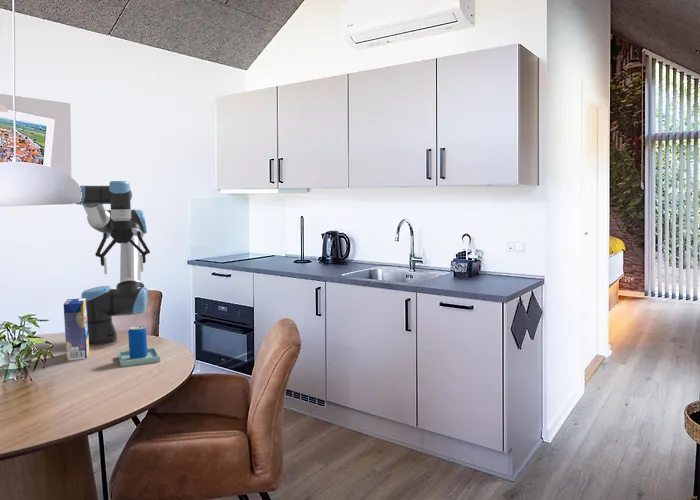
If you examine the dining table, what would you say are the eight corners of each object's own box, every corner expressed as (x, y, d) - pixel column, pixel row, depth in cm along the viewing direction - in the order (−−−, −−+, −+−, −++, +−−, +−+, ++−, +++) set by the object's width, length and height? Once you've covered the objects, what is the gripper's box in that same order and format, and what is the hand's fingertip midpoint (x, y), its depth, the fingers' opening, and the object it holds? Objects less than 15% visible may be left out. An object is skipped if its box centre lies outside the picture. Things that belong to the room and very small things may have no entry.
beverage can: (150, 355, 220) (149, 325, 218) (142, 360, 213) (141, 329, 212) (134, 355, 220) (133, 325, 219) (126, 360, 214) (124, 329, 213)
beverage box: (89, 351, 228) (86, 298, 226) (86, 358, 218) (83, 303, 216) (70, 352, 226) (67, 299, 224) (66, 360, 216) (63, 304, 213)
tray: (118, 356, 220) (117, 352, 220) (155, 352, 226) (155, 347, 226) (120, 367, 208) (120, 361, 207) (160, 361, 214) (160, 356, 214)
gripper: (87, 221, 214) (90, 276, 217) (155, 219, 225) (157, 271, 228) (86, 220, 221) (89, 273, 223) (152, 218, 232) (155, 268, 234)
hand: (124, 272), depth 225 cm, fingers open, 13 cm apart
